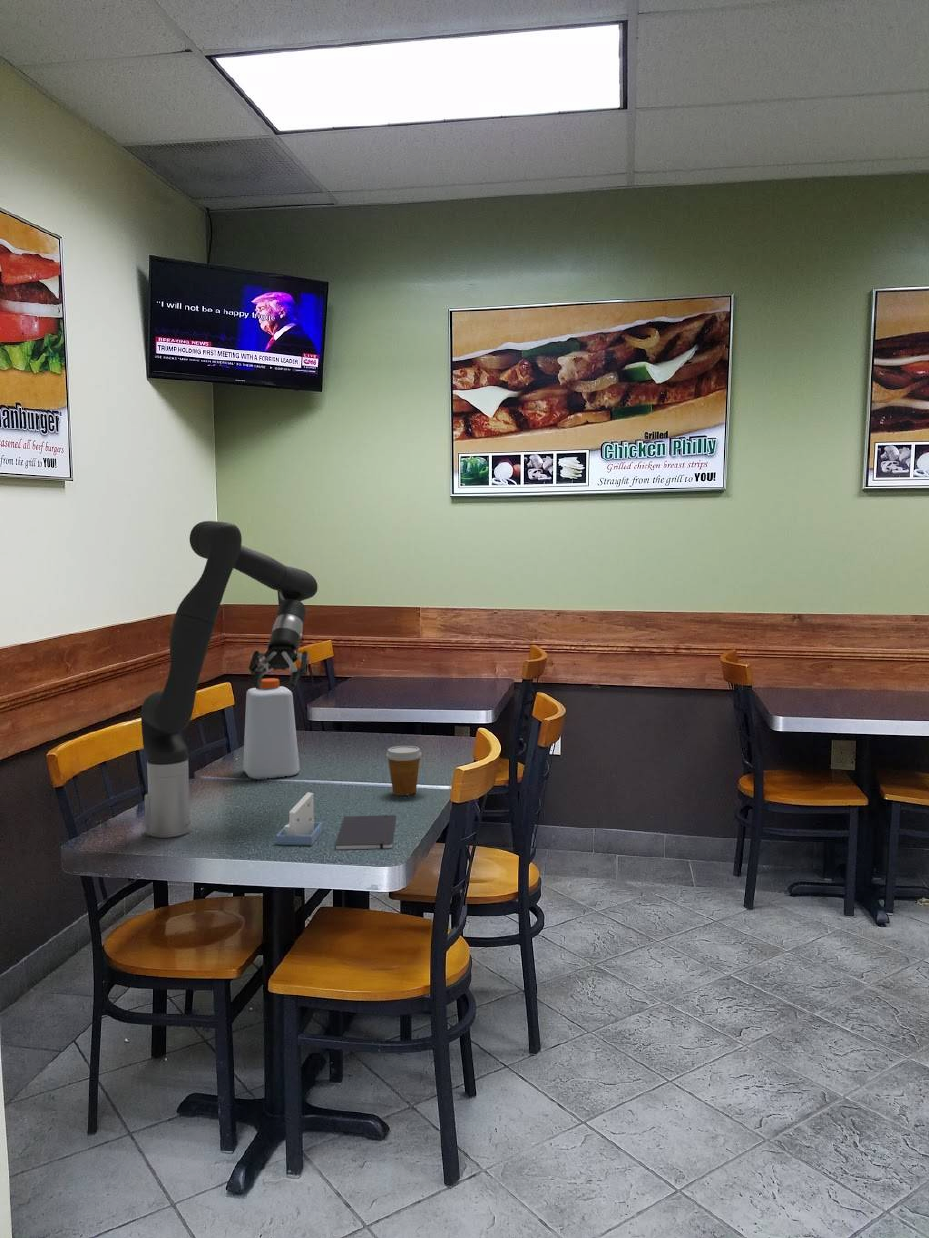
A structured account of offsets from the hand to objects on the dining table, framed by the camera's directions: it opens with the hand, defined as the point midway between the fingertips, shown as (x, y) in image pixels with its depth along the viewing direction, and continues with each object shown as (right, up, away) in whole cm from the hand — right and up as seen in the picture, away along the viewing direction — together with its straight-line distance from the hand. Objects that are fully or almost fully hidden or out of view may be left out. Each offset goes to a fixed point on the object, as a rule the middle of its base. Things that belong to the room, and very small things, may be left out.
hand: (273, 687), depth 219 cm
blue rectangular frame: (+9, -34, -13) cm, 37 cm away
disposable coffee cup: (+30, -31, +24) cm, 50 cm away
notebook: (+24, -34, -10) cm, 43 cm away
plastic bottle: (-11, -29, +47) cm, 56 cm away
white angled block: (+9, -34, -12) cm, 37 cm away
